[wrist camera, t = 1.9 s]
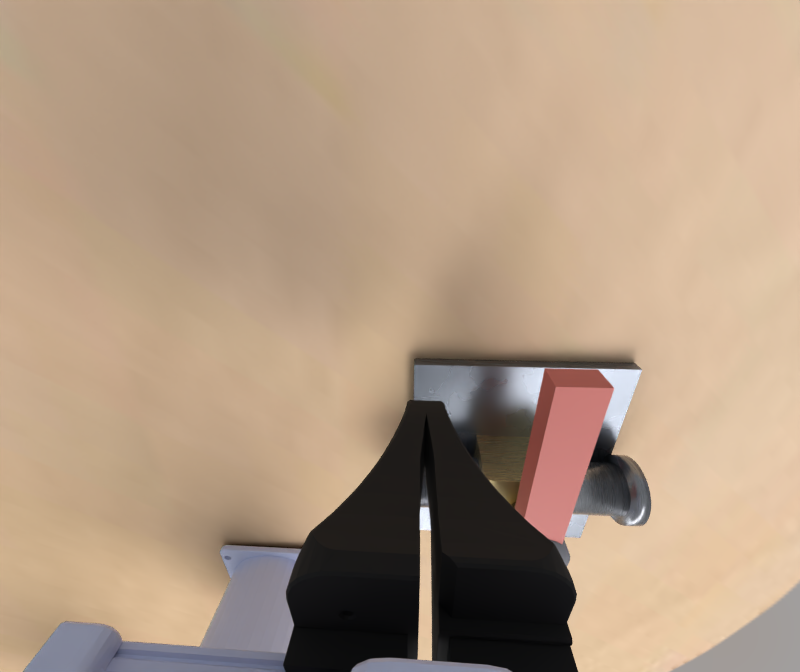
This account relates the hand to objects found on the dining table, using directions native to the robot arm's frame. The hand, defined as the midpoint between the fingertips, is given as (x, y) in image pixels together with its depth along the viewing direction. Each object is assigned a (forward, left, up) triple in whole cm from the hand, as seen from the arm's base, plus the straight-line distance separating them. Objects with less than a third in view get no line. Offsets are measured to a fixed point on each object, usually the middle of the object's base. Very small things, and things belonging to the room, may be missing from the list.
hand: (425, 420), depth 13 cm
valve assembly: (-7, -5, -5) cm, 10 cm away
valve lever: (-3, -5, 0) cm, 6 cm away
